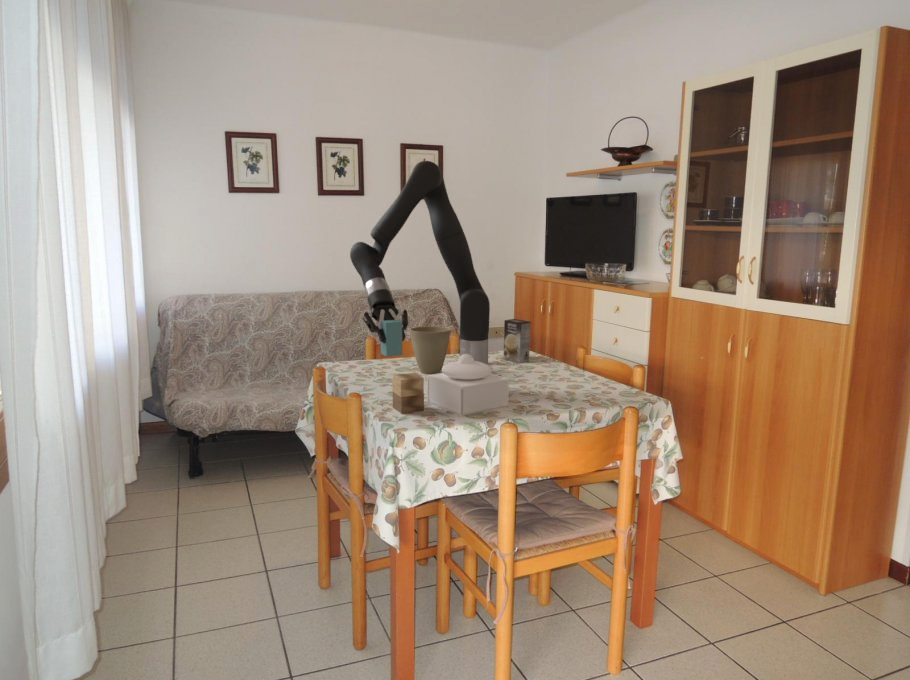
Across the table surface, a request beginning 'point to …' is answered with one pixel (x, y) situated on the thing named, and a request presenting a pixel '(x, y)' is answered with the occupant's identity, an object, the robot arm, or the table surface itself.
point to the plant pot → (430, 347)
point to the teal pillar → (392, 338)
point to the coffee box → (516, 340)
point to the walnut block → (408, 403)
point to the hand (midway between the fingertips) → (393, 340)
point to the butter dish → (467, 387)
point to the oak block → (408, 384)
